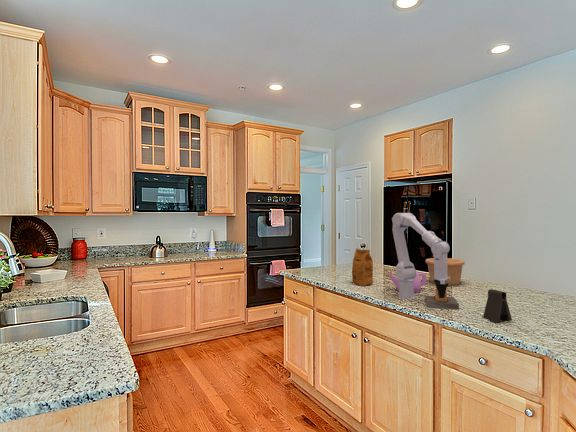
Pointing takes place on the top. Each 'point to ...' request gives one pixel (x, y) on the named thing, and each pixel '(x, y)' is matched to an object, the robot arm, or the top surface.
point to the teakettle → (416, 281)
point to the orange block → (440, 298)
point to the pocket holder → (441, 303)
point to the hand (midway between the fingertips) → (440, 296)
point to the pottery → (448, 270)
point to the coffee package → (362, 268)
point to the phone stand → (497, 307)
